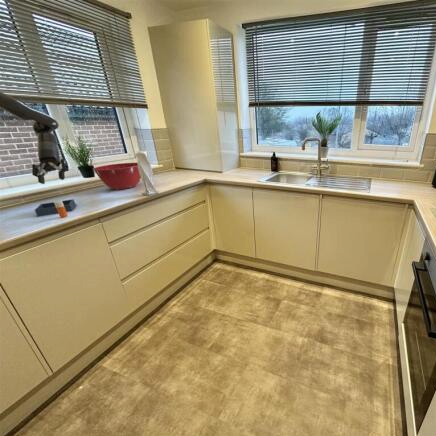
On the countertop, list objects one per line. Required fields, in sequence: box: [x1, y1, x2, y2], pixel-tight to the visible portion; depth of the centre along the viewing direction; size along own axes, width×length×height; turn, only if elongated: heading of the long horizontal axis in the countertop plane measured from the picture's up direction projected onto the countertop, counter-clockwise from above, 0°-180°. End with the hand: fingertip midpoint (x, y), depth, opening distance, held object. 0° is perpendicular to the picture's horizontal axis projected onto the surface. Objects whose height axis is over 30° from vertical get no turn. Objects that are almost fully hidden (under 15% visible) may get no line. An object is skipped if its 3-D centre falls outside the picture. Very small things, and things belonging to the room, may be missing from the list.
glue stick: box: [53, 200, 69, 219], centre depth 114 cm, size 3×3×8 cm
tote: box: [34, 199, 77, 217], centre depth 124 cm, size 13×11×4 cm
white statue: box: [133, 148, 160, 197], centre depth 148 cm, size 8×8×28 cm
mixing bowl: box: [92, 162, 141, 191], centre depth 168 cm, size 28×28×16 cm
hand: (52, 181), depth 118 cm, fingers open, 8 cm apart
